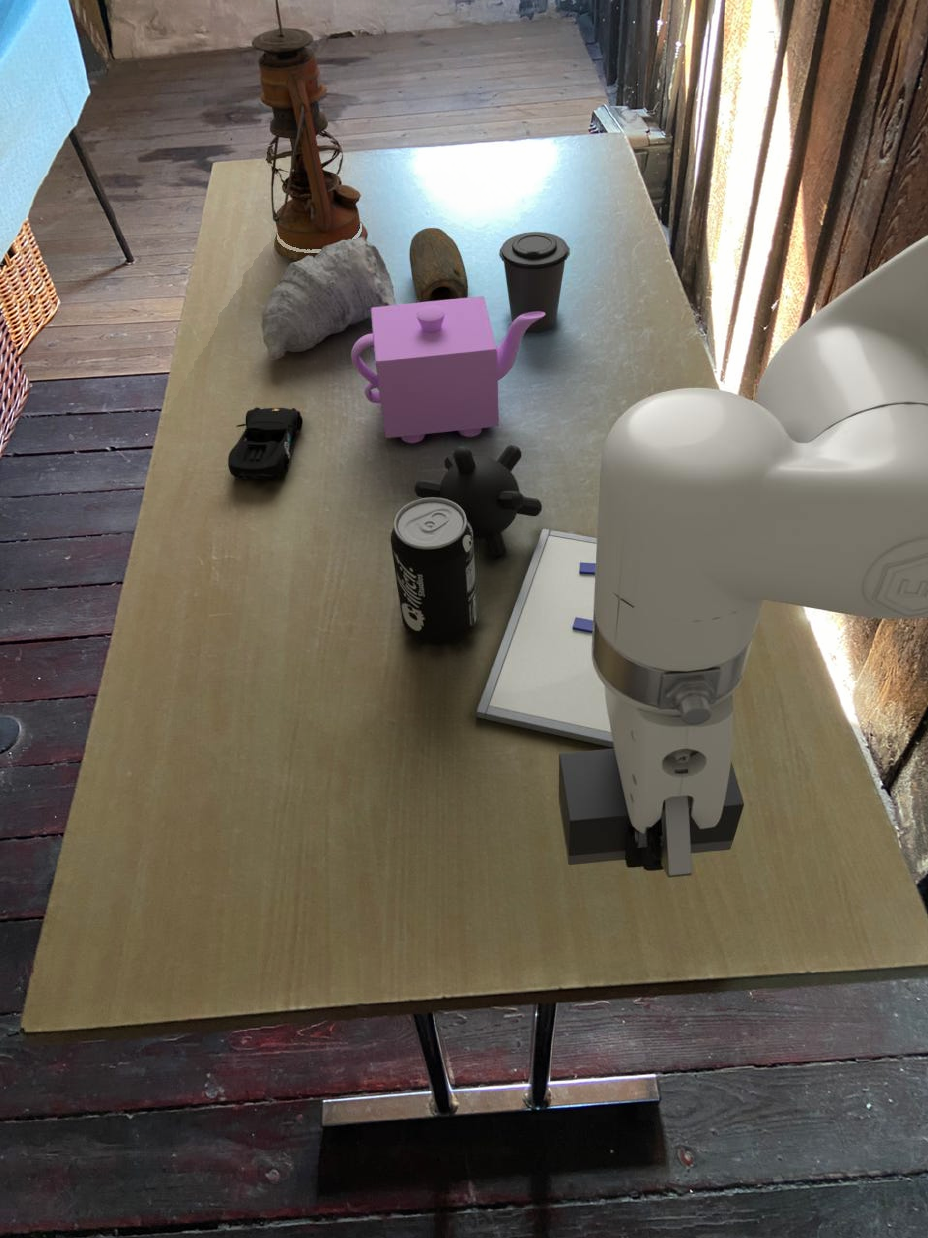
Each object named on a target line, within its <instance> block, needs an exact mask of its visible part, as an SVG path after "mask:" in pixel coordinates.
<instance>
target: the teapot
mask: <svg viewBox="0 0 928 1238" xmlns="http://www.w3.org/2000/svg"><path fill="white" fill-rule="evenodd" d="M544 316H545V312H541V311H535V312H528V313H525V314H522V315H520V316H519V317H517V318H516V319H515V320H514V321H513V323H512V322H511V324H510V325H509V328H508V330H507V333H506V335H505V338H504V339H503V341H502V342H501V343H500V344H499V345H496V341H495V337H494V332H493V328H492V324H491V320H490V316H489V311H488V308H487V304H486V300H485V297H484V296H472V297H470V296H469V297H467V298H459V299H449V300H439V301H429V302H412V303H411V302H410V303H401V304H396V305H391V306H382V307H373V308H371V327H372V333H368V334H365V335H363V336H361V337H360V338H358V340H356V341H355V343H354V345H353V346H352V349H351V352H350V358H351V362H352V365H353V367H354V368H355V369H356V371H357V372H358V373H359V374H360V375H361V376H362V377H363V378H364V379H365V380H366V381H367V382H368V383H366V385H365V387H364V395H365V398H366V399H367V400H368V401H369V402H370V403H373V404H380V405H381V413H382V420H383V421H382V422H383V428H384V434H385V435H384V436H385V439H392V438H401V440H402V441H403V442H405V443H408V444H416V443H419V442H421V441H422V440H424V439H425V436H426V435H429V434H436V433H437V434H439V433H447V432H457V431H458V433H459V434H460V435H461V436H463V437H466V438H473V437H476V436H478V435H479V434H481V432H482V430H483V429H485V428H493V427H494V428H495V427H499V425H500V424H499V423H500V421H499V419H500V418H499V385H498V384H499V381H500V380H502V379H503V378H505V376H507V375H508V374H509V372H510V371H511V370H512V368H513V367H514V364H515V362H516V359H517V356H518V352H519V349H520V346H521V342H522V340H523V336H524V334H525V333H526V332H525V331H526V330H527V328H528V327H529V326H530V325H531V324H532V323H534V322H535V321H537V320H538V319H540V318H542V317H544ZM369 347H373V349H374V360H375V361H374V362H375V370H376V372H374V371H373V370H372V369H371V368H370V367H369V366H367V364H366V363H365V362H364V361H363V359H362V358H361V356H360V354H361V353H362V352H363V351H365V350H366V349H367V348H369ZM374 389H377V391H378V392H377V391H376V392H375V391H372V390H374Z"/></svg>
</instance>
